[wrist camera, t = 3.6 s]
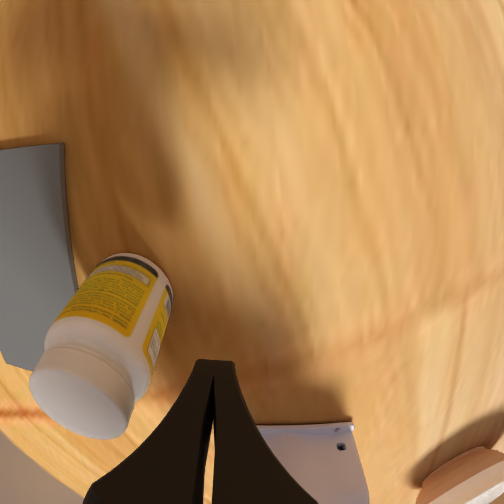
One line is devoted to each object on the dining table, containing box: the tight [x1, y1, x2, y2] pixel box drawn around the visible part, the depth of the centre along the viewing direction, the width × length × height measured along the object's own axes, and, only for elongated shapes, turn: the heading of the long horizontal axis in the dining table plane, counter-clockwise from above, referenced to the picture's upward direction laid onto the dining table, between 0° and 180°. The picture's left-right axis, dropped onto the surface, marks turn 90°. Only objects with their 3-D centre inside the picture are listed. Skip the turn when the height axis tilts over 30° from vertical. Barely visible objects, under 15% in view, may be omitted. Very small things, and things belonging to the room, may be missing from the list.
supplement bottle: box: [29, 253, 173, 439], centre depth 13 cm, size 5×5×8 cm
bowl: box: [416, 446, 504, 504], centre depth 27 cm, size 16×16×8 cm
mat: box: [0, 143, 78, 371], centre depth 16 cm, size 9×16×1 cm, turn 175°
